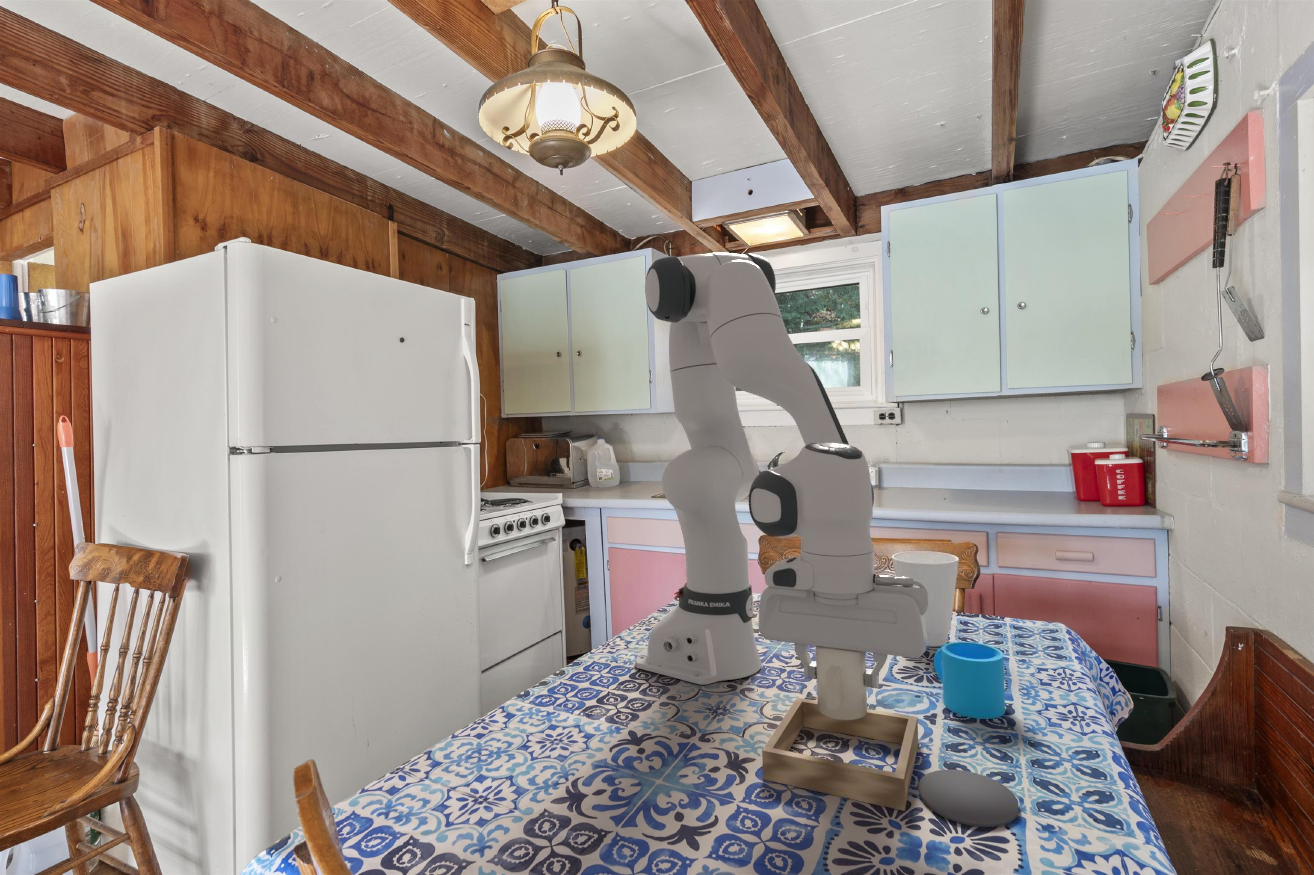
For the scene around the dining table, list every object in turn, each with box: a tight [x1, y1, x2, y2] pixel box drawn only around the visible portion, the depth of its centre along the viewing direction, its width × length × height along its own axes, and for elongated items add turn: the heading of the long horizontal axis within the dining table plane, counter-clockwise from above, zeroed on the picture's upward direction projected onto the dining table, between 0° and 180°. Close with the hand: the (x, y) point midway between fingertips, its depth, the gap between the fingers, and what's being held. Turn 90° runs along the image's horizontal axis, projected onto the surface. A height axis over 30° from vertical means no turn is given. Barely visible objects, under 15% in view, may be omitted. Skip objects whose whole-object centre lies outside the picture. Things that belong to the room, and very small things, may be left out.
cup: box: [891, 550, 960, 647], centre depth 122 cm, size 12×12×16 cm
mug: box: [933, 641, 1006, 720], centre depth 96 cm, size 12×8×8 cm
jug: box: [815, 646, 868, 720], centre depth 79 cm, size 9×6×8 cm
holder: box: [761, 697, 919, 812], centre depth 80 cm, size 16×16×4 cm
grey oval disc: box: [918, 769, 1019, 828], centre depth 71 cm, size 10×10×1 cm
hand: (841, 681), depth 80 cm, fingers closed on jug, 6 cm apart
